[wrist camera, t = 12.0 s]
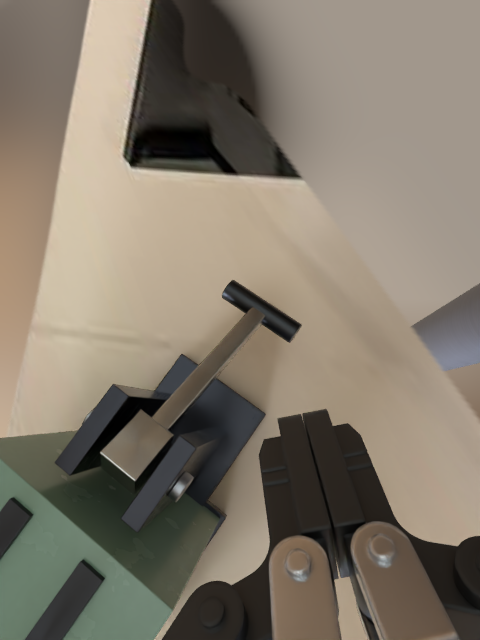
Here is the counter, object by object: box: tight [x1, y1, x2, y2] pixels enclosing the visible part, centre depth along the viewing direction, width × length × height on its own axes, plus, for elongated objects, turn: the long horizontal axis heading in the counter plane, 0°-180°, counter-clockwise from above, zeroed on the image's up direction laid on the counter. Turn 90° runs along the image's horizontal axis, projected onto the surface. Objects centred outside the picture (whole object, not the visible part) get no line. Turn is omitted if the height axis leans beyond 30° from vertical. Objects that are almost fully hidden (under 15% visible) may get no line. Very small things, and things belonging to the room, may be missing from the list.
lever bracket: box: [55, 354, 266, 533], centre depth 26 cm, size 10×8×14 cm
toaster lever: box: [100, 280, 301, 495], centre depth 24 cm, size 14×6×2 cm
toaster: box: [0, 431, 227, 640], centre depth 24 cm, size 9×12×15 cm
